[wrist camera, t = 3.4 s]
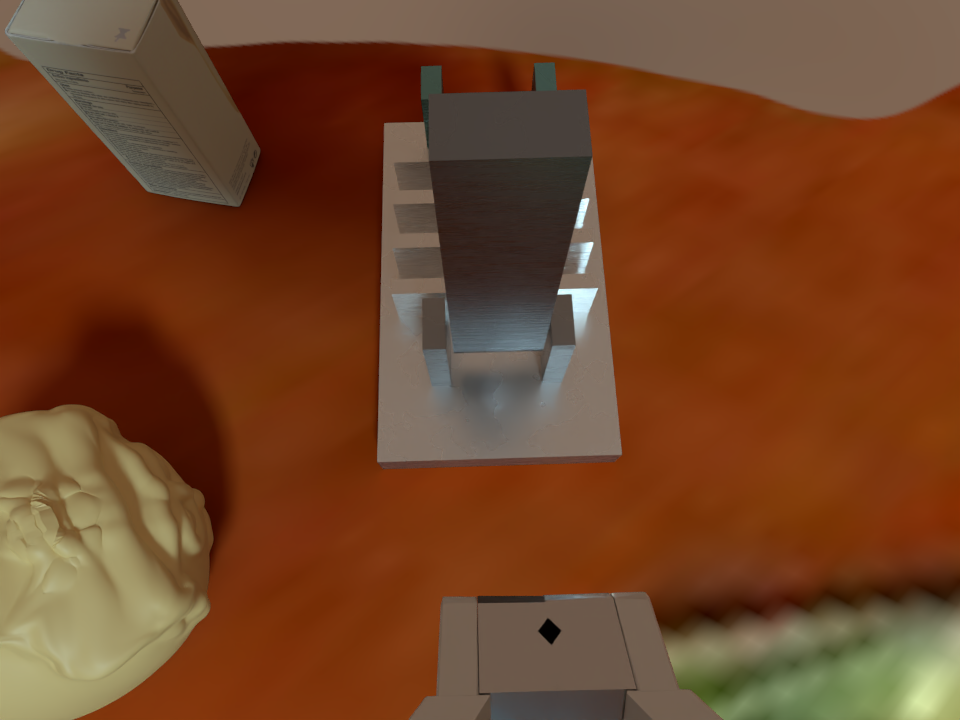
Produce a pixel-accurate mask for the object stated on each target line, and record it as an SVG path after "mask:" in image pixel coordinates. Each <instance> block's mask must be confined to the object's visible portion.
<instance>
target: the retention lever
mask: <svg viewBox="0 0 960 720" xmlns="http://www.w3.org/2000/svg"><path fill="white" fill-rule="evenodd" d="M591 160H592V147H591V137H590V127H589V117H588V107H587V97H586V90H554V91H519V92H483V93H447V94H429V165H430V173H431V181H432V189H433V196H434V204H435V212H436V220H437V227H438V235H439V243H440V251H441V258H442V266H443V274H444V282H445V289H446V297H447V305H448V313H449V320H450V328H451V336H452V344H453V351H454V353H482V352H516V351H543V349H544V345H545V341H546V337H547V333H548V329H549V325H550V321H551V317H552V314H553V310H554V306H555V302H556V298H557V294H558V290H559V286H560V282H561V278H562V274H563V270H564V266H565V262H566V258H567V254H568V250H569V247H570V243H571V239H572V235H573V231H574V227H575V223H576V219H577V215H578V211H579V207H580V203H581V199H582V195H583V191H584V187H585V183H586V180H587V176H588V172H589V168H590V164H591Z"/></svg>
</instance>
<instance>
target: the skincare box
mask: <svg viewBox="0 0 960 720" xmlns="http://www.w3.org/2000/svg"><path fill="white" fill-rule="evenodd" d="M5 34H6V35H7V36H8V37H9V39H10V40H11V41H12V42H13V43H14V44H15V45H16V46H17V47H18V48H19V49H20V51H21V52H22V53H23V54H24V55H25V56H26V57H27V58H28V59H29V61H30V62H31V63H32V64H33V65H34V66H35V67H36V68H37V69H38V71H39V72H40V73H41V74H42V75H43V76H44V77H45V78H46V79H47V80H48V82H49V83H50V84H51V85H52V86H53V87H54V88H55V89H56V91H57V92H58V93H59V94H60V95H61V96H62V97H63V98H64V100H65V101H66V102H67V103H68V104H69V105H70V106H71V107H72V108H73V109H74V111H75V112H76V113H77V114H78V115H79V116H80V117H81V118H82V119H83V121H84V122H85V123H86V124H87V125H88V126H89V127H90V128H91V130H92V131H93V132H94V133H95V134H96V135H97V136H98V137H99V138H100V139H101V140H102V142H103V143H104V144H105V145H106V146H107V147H108V148H109V149H110V151H111V152H112V153H113V154H114V155H115V156H116V157H117V158H118V159H119V160H120V162H121V163H122V164H123V165H124V166H125V167H126V168H127V169H128V170H129V172H130V173H131V174H132V175H133V176H134V177H135V178H136V179H137V180H138V181H139V183H140V184H141V185H142V186H143V187H144V188H145V189H146V190H147V191H148V192H152V193H157V194H162V195H167V196H172V197H178V198H184V199H190V200H196V201H202V202H209V203H215V204H222V205H229V206H236V207H238V206H240V205H241V203H242V200H243V198H244V195H245V193H246V190H247V188H248V185H249V183H250V180H251V178H252V175H253V172H254V170H255V167H256V164H257V161H258V158H259V154H260V148H259V146H258V144H257V142H256V141H255V139H254V137H253V135H252V133H251V131H250V130H249V128H248V126H247V124H246V122H245V121H244V119H243V117H242V115H241V113H240V112H239V110H238V108H237V106H236V104H235V103H234V101H233V99H232V97H231V96H230V94H229V92H228V90H227V88H226V87H225V85H224V83H223V81H222V79H221V77H220V76H219V74H218V72H217V70H216V69H215V67H214V65H213V63H212V61H211V60H210V58H209V56H208V54H207V52H206V51H205V49H204V47H203V45H202V44H201V42H200V40H199V38H198V36H197V35H196V33H195V31H194V30H193V28H192V26H191V24H190V22H189V20H188V18H187V17H186V15H185V13H184V11H183V10H182V8H181V6H180V4H179V2H178V0H22V2H21V4H20V5H19V7H18V9H17V10H16V12H15V14H14V15H13V17H12V19H11V21H10V22H9V24H8V26H7V27H6V29H5Z"/></svg>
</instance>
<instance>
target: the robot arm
mask: <svg viewBox="0 0 960 720" xmlns="http://www.w3.org/2000/svg"><path fill="white" fill-rule="evenodd" d="M409 720H723V719H722V718H721V717H720V716H719V715H717V714H716V713H715V712H714V711H713V710H712V709H711V708H710V707H709V706H708V705H707V704H705V703H704V702H703V701H702V700H701V699H700V698H699V697H698V696H697V695H696V694H695V693H694V692H692V691H691V690H680V689H679V686H678V683H677V680H676V677H675V674H674V671H673V668H672V665H671V662H670V659H669V656H668V653H667V650H666V647H665V644H664V641H663V638H662V635H661V632H660V629H659V625H658V622H657V619H656V616H655V613H654V610H653V607H652V604H651V601H650V598H649V596H648V595H647V594H646V593H645V592H627V593H611V594H609V593H596V594H568V595H543V596H478V618H477V597H443V599H442V603H441V612H440V633H439V653H438V674H437V694H436V696H427V697H425V698H424V700H423V701H422V702H421V704H420V705H419V706H418V708H417V709H416V710H415V712H414V713H413V715H412V716H411V717H410V719H409Z"/></svg>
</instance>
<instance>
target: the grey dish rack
mask: <svg viewBox="0 0 960 720" xmlns="http://www.w3.org/2000/svg"><path fill="white" fill-rule="evenodd" d="M554 90H557V88H556V76H555V63H534V71H533V81H532V91H554ZM429 94H444V93H443V81H442V69H441V66H421V103H422V110H423V118H424V122H405V123H384V159H383V208H382V257H381V306H380V355H379V403H378V452H377V462H378V464H379V465H380V466H381V467H382V468H383V469H398V468H431V467H463V466H496V465H528V464H561V463H594V462H615V461H616V460H617V459H618V458H619V457H620V456H621V455H622V450H621V440H620V430H619V420H618V410H617V400H616V390H615V380H614V370H613V360H612V350H611V340H610V330H609V320H608V310H607V300H606V290H605V280H604V270H603V260H602V250H601V240H600V230H599V220H598V210H597V200H596V190H595V180H594V170H593V160H591V164H590V168H589V172H588V176H587V180H586V183H585V187H584V191H583V195H582V199H581V203H580V207H579V211H578V215H577V219H576V223H575V227H574V231H573V235H572V239H571V243H570V247H569V250H568V254H567V258H566V262H565V266H564V270H563V274H562V278H561V282H560V286H559V290H558V294H557V298H556V302H555V306H554V310H553V314H552V317H551V321H550V325H549V329H548V333H547V337H546V341H545V345H544V349H543V351H516V352H482V353H454V351H453V344H452V336H451V328H450V320H449V313H448V305H447V297H446V289H445V282H444V274H443V266H442V258H441V251H440V243H439V235H438V227H437V220H436V212H435V204H434V196H433V189H432V181H431V173H430V165H429Z"/></svg>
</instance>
